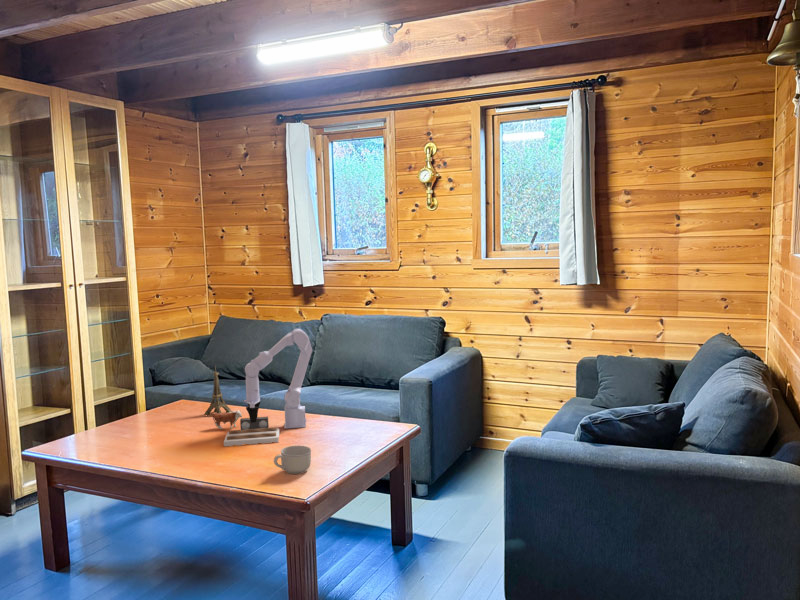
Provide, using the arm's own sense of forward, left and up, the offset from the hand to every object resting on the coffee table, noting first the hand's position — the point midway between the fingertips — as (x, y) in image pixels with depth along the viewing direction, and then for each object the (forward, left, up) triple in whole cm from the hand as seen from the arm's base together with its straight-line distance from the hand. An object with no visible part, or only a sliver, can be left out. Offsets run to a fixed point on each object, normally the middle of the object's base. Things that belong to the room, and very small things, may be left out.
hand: (254, 420), depth 279 cm
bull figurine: (+12, -7, -5) cm, 15 cm away
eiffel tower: (+20, -35, -5) cm, 41 cm away
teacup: (-17, +59, -5) cm, 62 cm away
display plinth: (0, +14, -5) cm, 15 cm away
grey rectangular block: (0, 0, -5) cm, 5 cm away
